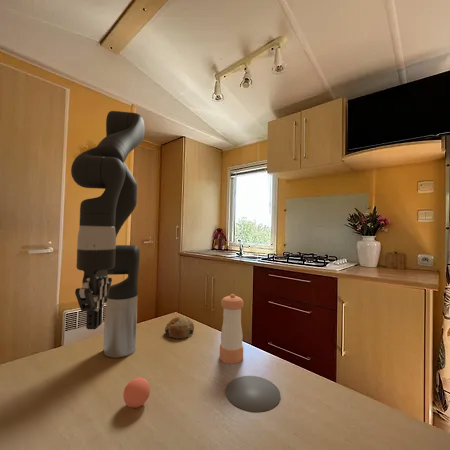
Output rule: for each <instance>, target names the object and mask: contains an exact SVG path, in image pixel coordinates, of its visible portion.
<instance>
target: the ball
mask: <svg viewBox="0 0 450 450" xmlns="http://www.w3.org/2000/svg"><path fill="white" fill-rule="evenodd" d="M150 393H151V386H150V383H149V382H148V380H146V379H145V378H144V377H135V378H132V379H130V380H129V381H128V383H127V384H126V385H125V387H124V389H123V399H124V400H123V401H124V403H125V404H126V405H127V406H128V407H129V408H132V409H133V408H135V409H136V408H140V407H141V406H143V405H144V404H145V403H146V402H147V401H148V399H149V397H150V395H151V394H150Z"/></svg>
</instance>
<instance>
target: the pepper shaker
mask: <svg viewBox="0 0 450 450" xmlns="http://www.w3.org/2000/svg"><path fill="white" fill-rule="evenodd" d="M220 304H221V305H220V306H221V307H222V308H223V315H222V316H223V317H222V321H223V322H222V327H221V332H220V344H219V359H220V361H221V362H224V363H227V364H238V363H240V362H242V361H243V360H244V344H243V328H242V309H243V307H244V305H245V302H244V300H243V299H242V298H241V297H240V296H237V295H236V294H235V293H231V294H229V295H227V296H225V297H223V298H222V299H221V302H220Z"/></svg>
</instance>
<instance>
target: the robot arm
mask: <svg viewBox="0 0 450 450" xmlns="http://www.w3.org/2000/svg"><path fill="white" fill-rule="evenodd" d="M105 120H106V121H105V133H106V136H105V137H104V138H102V140H100V142H99V143H98V144H97V145H96V146H95V147H92V148H89V149H88V150H86V151H85V150H84V152H81V153H80V154H78V155H77V156H76V157H75V159H74V160H73V161H72V164H71V169H70V174H71V177H72V179H73V181H74V183H76V184H77V185H78V186H80V187H81V188H85V189H98V190H99V189H100V190H102V189H103V190H104V191H103V193H102V194H101V195H99V196H97V197H93V198H86V199H83V200H82V201H81V202H80V206H79V226H78V233H77V242H76V243H77V244H76V245H77V246H76V266H75V267H76V269H77V270H78V271H83V277H82V281H81V284H82V286H81V288H80V287H79V288H76V289H75V291H74V294H75V297H76V299H77V302H78V306H79V308H80V311H81V312H86V321H85V322H86V326H85V327H86V330H96V329H97V328H99V327H100V326H101V325H102V322H103V308H104V307H105V320H104V323H103V325H104V326H103V327H104V328H103V352H104V355H105V357H108V358H122V357H127V356H130V355H131V354H133V353H135V351H136V350H137V331H138V329H137V327H138V326H137V324H138V302H139V301H138V297H139V296H138V294H139V293H138V292H139V291H138V289H139V288H138V285H139V271H140V259H141V258H140V257H141V256H140V255H141V254H140V249H139V247H138V246H137V245H135V244H132V245H131V244H125V245H124V244H121V245H120V244H116V243H117V237H118V234H119V232H120V230H121V228H122V226H123V225H124V224H125V222H126V221H127V220H128V219H129V217H130V216H131V214H133V211H134V210H135V208H136V206H137V204H138V183H137V181H136V178H135V177H134V174H133V173H132V172H131V171H130V168H129V167H128V165H127V164H126V162H125V161H126V159H127V157H128V156H129V154H130V153H131V152H133V150H135V149H136V148H137V146H139V145H140V144H141V143H142V142H143V140H144V137H145V134H146V132H145V130H146V128H145V127H146V126H145V121H144V117H142V115H141V114H139V113H135V112H131V111H130V112H129V111H122V110H121V111H119V110H110V111H109V112H108V113H107V115H106V119H105ZM109 275H113V276H114V275H127V278H125V279H124V280H122V281H120V282H118V283H115V284H112V281H113V278H112V277H109Z"/></svg>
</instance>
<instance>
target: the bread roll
mask: <svg viewBox="0 0 450 450" xmlns="http://www.w3.org/2000/svg"><path fill="white" fill-rule="evenodd" d="M194 331H195V325H194V323H193V321H192V320H191V319H190V318H188V317H187V316H182V315H181V316H176V317H174V318H172V319H170V321H168V323H166V326H165V327H164V333H166V335H167V337H169V338H171V337H172V338H173V339H174V338H176V339H178V338H182V339H186V337H187V338H189V337H188V336H191V337H192V336H193V334H194ZM192 333H193V334H192ZM172 338H171V339H172Z"/></svg>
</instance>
